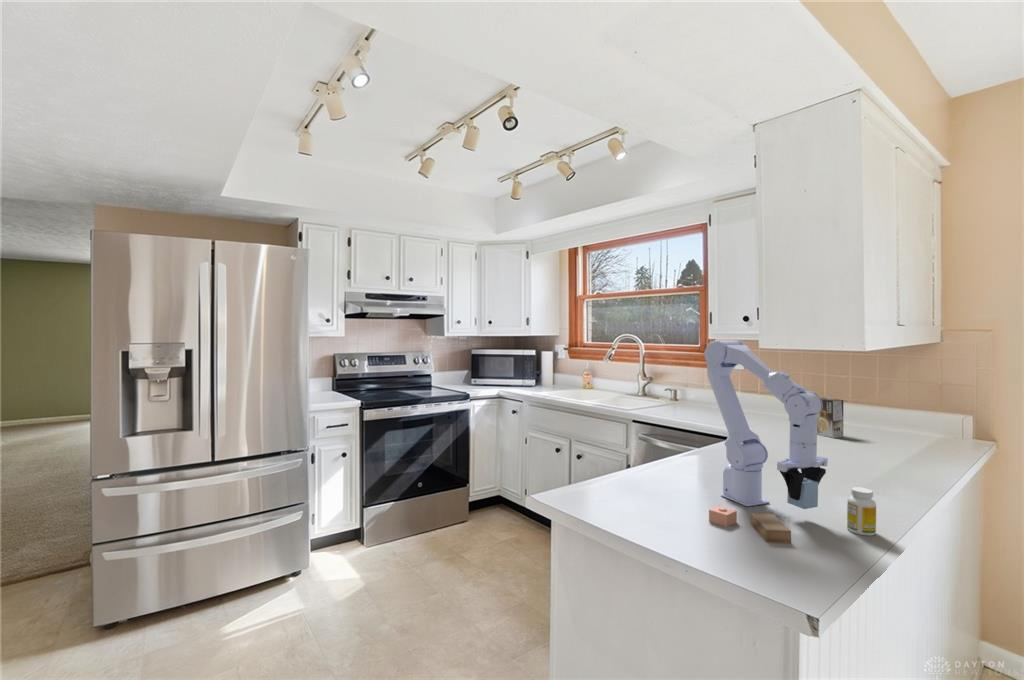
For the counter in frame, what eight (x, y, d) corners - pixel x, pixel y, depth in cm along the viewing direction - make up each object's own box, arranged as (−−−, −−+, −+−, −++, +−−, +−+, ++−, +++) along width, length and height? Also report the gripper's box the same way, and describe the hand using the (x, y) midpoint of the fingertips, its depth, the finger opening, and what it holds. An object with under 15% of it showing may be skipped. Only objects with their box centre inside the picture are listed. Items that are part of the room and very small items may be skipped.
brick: (708, 521, 118) (709, 508, 118) (718, 517, 121) (719, 504, 121) (726, 527, 115) (726, 514, 115) (736, 523, 117) (736, 509, 117)
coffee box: (844, 437, 209) (844, 399, 209) (833, 438, 207) (833, 400, 207) (824, 433, 218) (825, 397, 218) (813, 434, 216) (814, 397, 216)
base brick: (750, 525, 116) (750, 512, 116) (772, 526, 116) (772, 513, 116) (766, 543, 106) (766, 529, 106) (791, 544, 106) (791, 530, 106)
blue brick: (787, 502, 120) (787, 477, 120) (800, 500, 122) (801, 475, 121) (804, 509, 116) (804, 482, 116) (817, 506, 117) (818, 480, 117)
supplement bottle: (845, 531, 111) (845, 489, 111) (849, 524, 115) (849, 484, 115) (874, 538, 108) (874, 495, 108) (877, 531, 112) (877, 489, 112)
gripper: (795, 448, 112) (795, 507, 113) (840, 443, 117) (839, 499, 118) (769, 441, 119) (769, 497, 119) (812, 437, 124) (811, 490, 124)
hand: (802, 497), depth 119 cm, fingers closed on blue brick, 4 cm apart
